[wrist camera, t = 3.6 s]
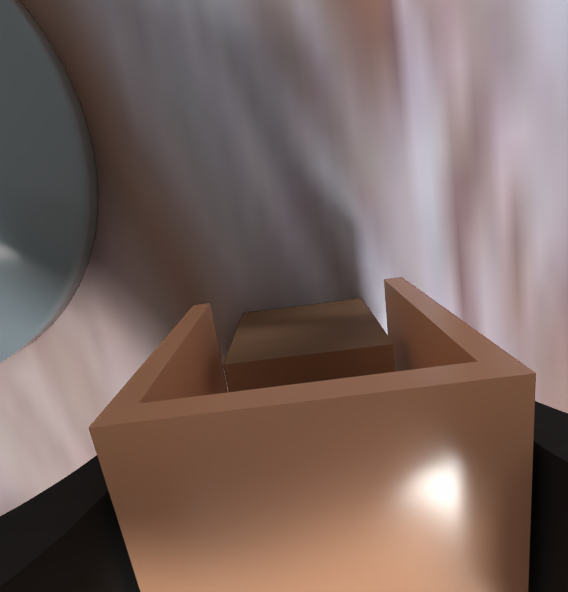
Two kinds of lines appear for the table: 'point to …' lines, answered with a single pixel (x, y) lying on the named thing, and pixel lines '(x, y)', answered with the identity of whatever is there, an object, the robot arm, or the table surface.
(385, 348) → the block
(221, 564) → the cover
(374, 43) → the table surface
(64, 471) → the table surface
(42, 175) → the dish
